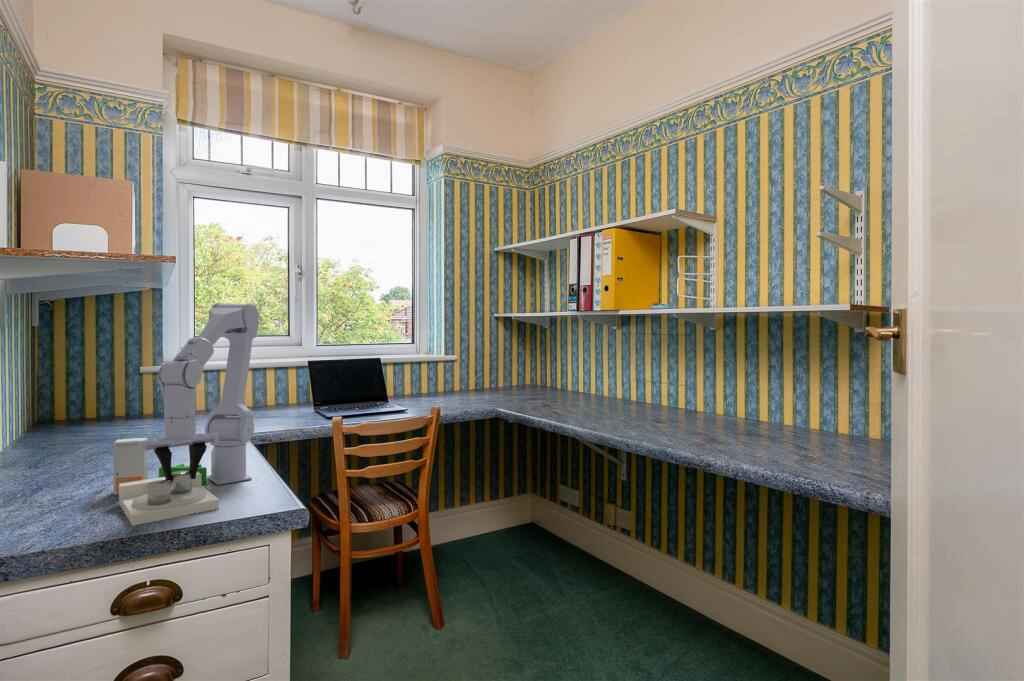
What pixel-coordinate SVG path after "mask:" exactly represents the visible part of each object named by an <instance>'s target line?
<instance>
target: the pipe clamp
mask: <svg viewBox="0 0 1024 681" xmlns="http://www.w3.org/2000/svg"><path fill="white" fill-rule="evenodd" d="M189 470H190V465H189V466H188V465H185V464H184V463H181V464H178V465H175V466H171V473H173V472H177V471H189ZM197 472H199V473H200V474H201V485H202V486H204V487H206V486H207V482H208V480H207V479H208V478H207V476H208V475H207V474H208V473H207V467H203V466H202V464H199V466H198V469H197ZM160 477H165V474H164V471H163V468H162V466H160V467H158V478H160Z"/></svg>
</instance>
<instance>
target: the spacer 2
mask: <svg viewBox="0 0 1024 681" xmlns="http://www.w3.org/2000/svg"><path fill="white" fill-rule="evenodd" d="M171 475H172V482H171V494H184V493H188V492H191V491H192V472H191V471H177V472H173V473H171Z"/></svg>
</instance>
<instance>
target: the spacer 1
mask: <svg viewBox="0 0 1024 681" xmlns="http://www.w3.org/2000/svg"><path fill="white" fill-rule="evenodd" d="M169 502H171V481H170V480H158V481H153V482H150V483H148V484H147V504H148V505H150V506H156V505H163V504H167V503H169Z"/></svg>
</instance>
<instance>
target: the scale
mask: <svg viewBox="0 0 1024 681" xmlns="http://www.w3.org/2000/svg"><path fill="white" fill-rule="evenodd" d="M158 480H166V479H165V477H160V478H159V477H156V478H149V479H147V480H140V481H134V482H127V483H120V484H119V494H118V505H119V507H120V508H122V509H121V510H122V511H124V512H123V513H124V515H125V516H126V518H127V519H129V523H130V525H131V526H132V527H133V526H138V525H139V526H140V525H143V524H148V523H154V521H155V522H158V521H163V520H164V519H165V520H169V519H174V518H179V517H180V518H181V517H185V516H189V514H191V515H194V513H196V514H200V513H199V512H201V513H205V511H206V512H209V510H211V511H216V510H220V500H219V498H217V497H216V495H214V494H213V493H212V492H210V491H209V490H208V489H207V488H205V486H204V487H203V486H202V485H201V474H200V473H199V472H197V473H196V478H195V479H192V491H191V492H188V493H184V494H171V502H169V503H167V504H163V505H156V506H150V505H148V504H147V484H148V483H150V482H153V481H158ZM215 509H216V510H215ZM165 520H164V521H165Z"/></svg>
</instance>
